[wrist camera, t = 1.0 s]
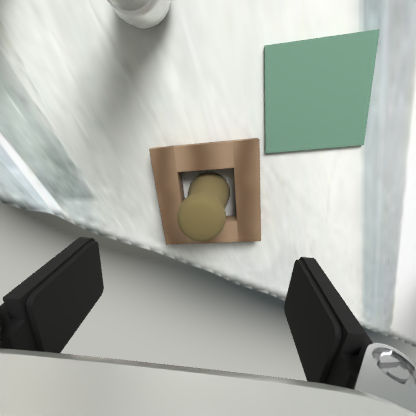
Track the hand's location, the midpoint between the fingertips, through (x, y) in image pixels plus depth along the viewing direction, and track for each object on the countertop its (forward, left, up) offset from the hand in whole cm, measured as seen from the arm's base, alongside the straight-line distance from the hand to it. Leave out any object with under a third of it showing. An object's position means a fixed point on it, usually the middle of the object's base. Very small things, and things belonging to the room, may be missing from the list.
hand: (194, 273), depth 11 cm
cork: (+2, +2, -23) cm, 23 cm away
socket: (+2, +2, -22) cm, 22 cm away
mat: (-12, -9, -22) cm, 27 cm away
